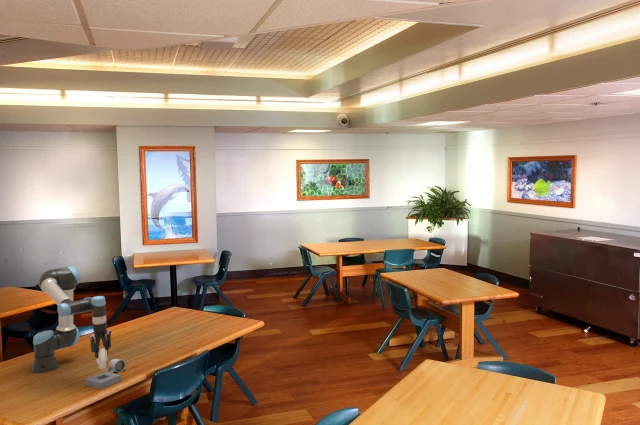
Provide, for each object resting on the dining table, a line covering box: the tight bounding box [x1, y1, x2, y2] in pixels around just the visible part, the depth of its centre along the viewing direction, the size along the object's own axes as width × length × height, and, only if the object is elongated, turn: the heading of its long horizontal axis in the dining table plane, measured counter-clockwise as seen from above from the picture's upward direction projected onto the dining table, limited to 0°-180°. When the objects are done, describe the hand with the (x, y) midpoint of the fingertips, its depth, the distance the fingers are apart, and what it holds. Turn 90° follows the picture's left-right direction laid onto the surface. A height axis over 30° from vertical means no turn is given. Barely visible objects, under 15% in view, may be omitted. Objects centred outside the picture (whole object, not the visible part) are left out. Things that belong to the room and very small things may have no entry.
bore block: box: [84, 370, 122, 390], centre depth 311 cm, size 14×14×4 cm
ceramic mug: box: [105, 358, 126, 374], centre depth 328 cm, size 11×8×8 cm
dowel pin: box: [98, 346, 107, 370], centre depth 310 cm, size 4×4×12 cm
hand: (102, 361), depth 310 cm, fingers closed on dowel pin, 4 cm apart
